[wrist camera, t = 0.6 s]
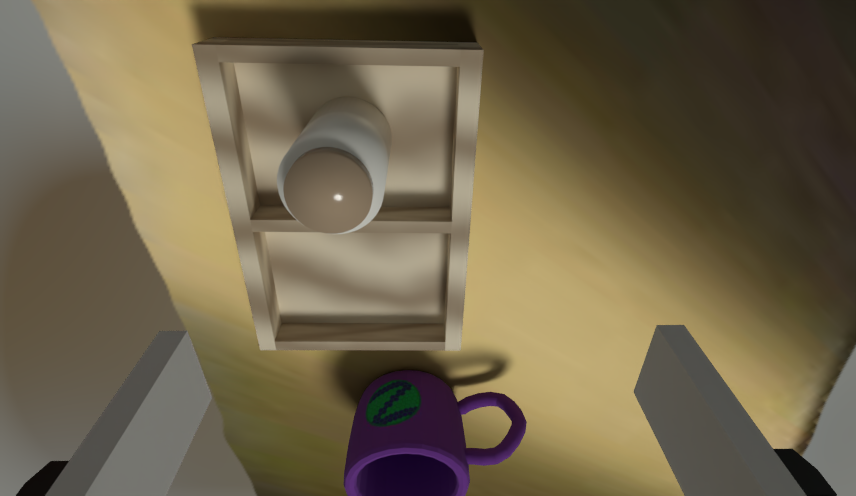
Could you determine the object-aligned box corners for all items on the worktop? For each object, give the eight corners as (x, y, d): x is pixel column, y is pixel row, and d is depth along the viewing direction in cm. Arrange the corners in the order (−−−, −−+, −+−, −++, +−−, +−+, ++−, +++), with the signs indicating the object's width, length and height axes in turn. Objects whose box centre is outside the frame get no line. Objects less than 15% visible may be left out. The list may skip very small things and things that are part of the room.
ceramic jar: (304, 95, 32) (263, 140, 24) (391, 97, 32) (381, 142, 24) (314, 176, 35) (280, 242, 27) (392, 177, 35) (384, 243, 27)
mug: (375, 441, 53) (366, 531, 45) (339, 373, 48) (322, 461, 39) (524, 412, 51) (545, 501, 43) (505, 337, 45) (526, 422, 37)
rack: (213, 37, 31) (191, 44, 28) (477, 42, 32) (483, 50, 29) (271, 324, 44) (260, 350, 41) (457, 324, 44) (460, 350, 41)
